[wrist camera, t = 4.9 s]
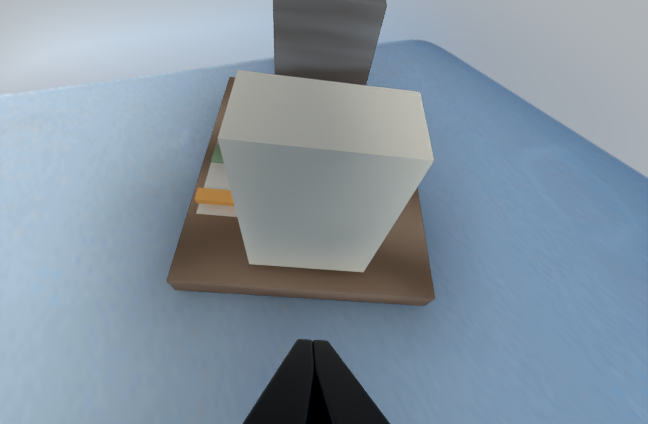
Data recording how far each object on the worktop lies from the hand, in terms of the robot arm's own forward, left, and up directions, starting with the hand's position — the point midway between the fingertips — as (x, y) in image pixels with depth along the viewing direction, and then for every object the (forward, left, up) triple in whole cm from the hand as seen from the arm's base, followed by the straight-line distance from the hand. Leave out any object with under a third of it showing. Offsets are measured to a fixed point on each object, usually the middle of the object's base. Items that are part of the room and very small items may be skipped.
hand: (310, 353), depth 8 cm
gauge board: (+11, -6, -8) cm, 15 cm away
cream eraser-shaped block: (+7, -4, -6) cm, 10 cm away
